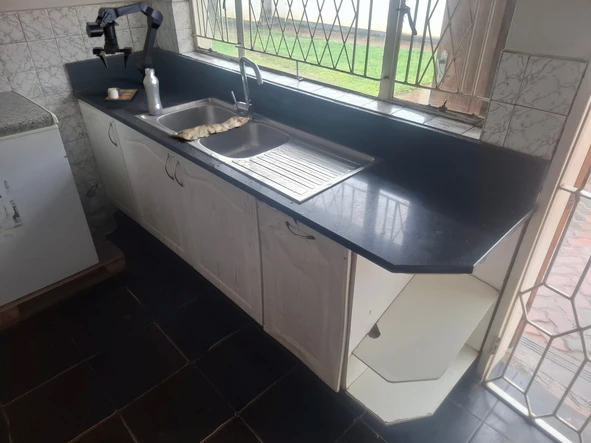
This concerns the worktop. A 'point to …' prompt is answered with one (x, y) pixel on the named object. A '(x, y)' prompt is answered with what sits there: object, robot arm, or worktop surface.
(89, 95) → the worktop surface
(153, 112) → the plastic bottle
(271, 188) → the worktop surface
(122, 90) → the wooden grid board
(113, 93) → the white lidded jar
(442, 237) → the worktop surface
